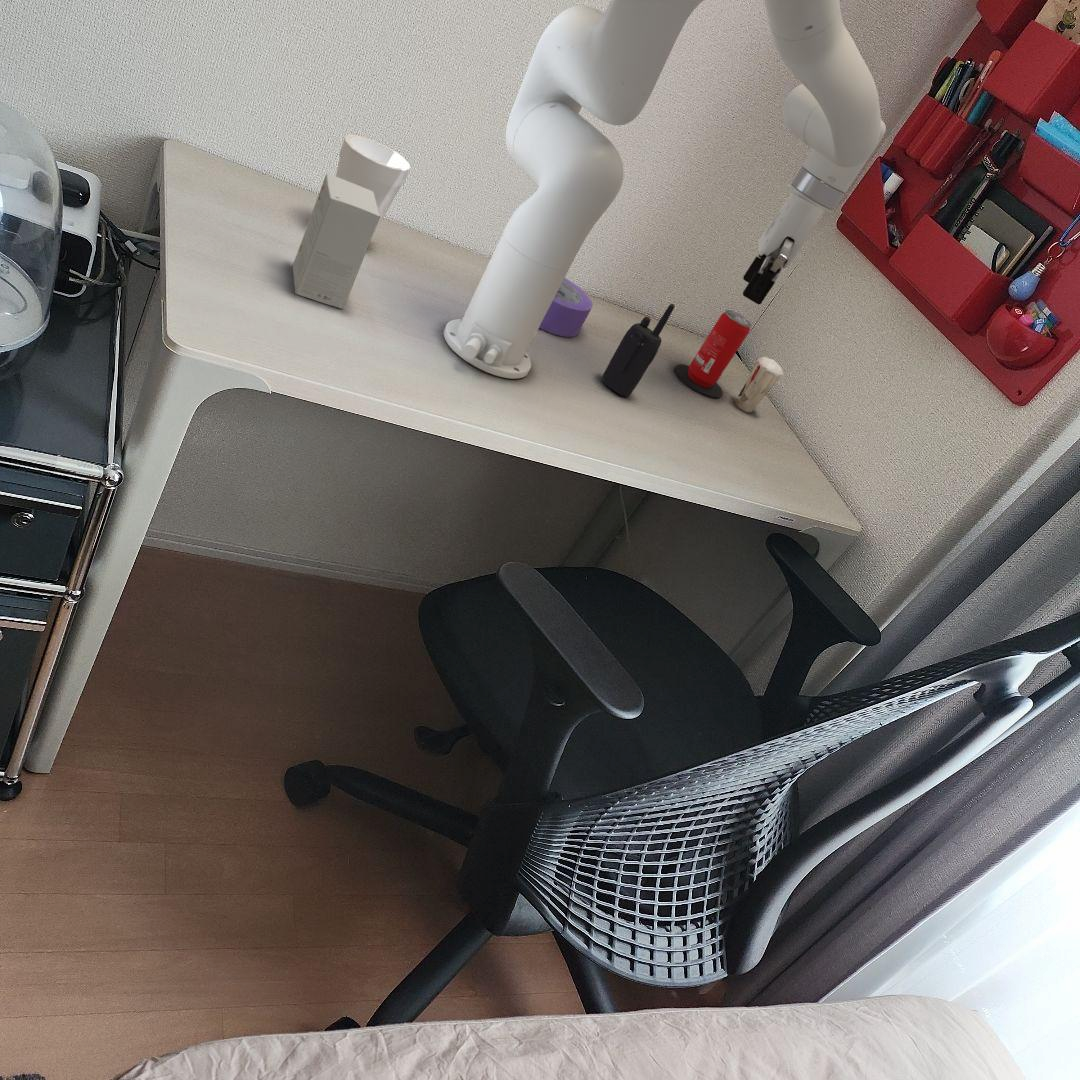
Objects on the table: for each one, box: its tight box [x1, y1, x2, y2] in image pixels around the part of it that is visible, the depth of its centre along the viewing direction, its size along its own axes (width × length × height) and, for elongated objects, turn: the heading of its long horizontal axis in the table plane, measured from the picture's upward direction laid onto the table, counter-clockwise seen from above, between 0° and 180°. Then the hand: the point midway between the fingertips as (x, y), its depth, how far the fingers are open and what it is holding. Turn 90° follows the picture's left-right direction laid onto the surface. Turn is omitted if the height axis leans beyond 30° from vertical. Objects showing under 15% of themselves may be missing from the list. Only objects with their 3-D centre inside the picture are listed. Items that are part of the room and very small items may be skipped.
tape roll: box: [538, 277, 594, 338], centre depth 155 cm, size 12×12×5 cm
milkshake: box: [734, 356, 794, 414], centre depth 163 cm, size 4×5×10 cm
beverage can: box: [687, 309, 752, 388], centre depth 162 cm, size 5×5×12 cm
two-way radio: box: [601, 303, 676, 397], centre depth 142 cm, size 6×4×15 cm
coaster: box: [673, 363, 724, 400], centre depth 165 cm, size 9×9×1 cm
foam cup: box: [335, 134, 411, 236], centre depth 141 cm, size 10×9×13 cm
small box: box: [292, 173, 380, 310], centre depth 124 cm, size 8×6×13 cm
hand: (750, 291), depth 156 cm, fingers open, 9 cm apart
